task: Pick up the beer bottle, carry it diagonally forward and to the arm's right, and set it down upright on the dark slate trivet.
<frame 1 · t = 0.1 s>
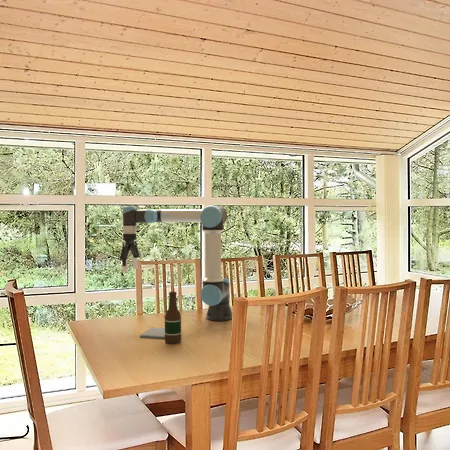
hand: (130, 270, 273), 28 cm above the table, fingers open, 13 cm apart
slate trivet: (161, 334, 240), on the table
beer bottle: (173, 343, 225), on the table
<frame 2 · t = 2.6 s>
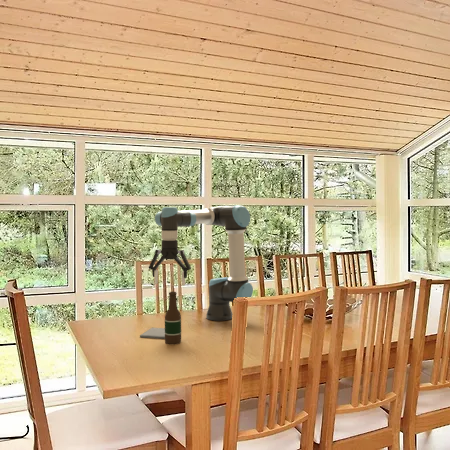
hand: (169, 284, 226), 27 cm above the table, fingers open, 13 cm apart
nothing on the table moved.
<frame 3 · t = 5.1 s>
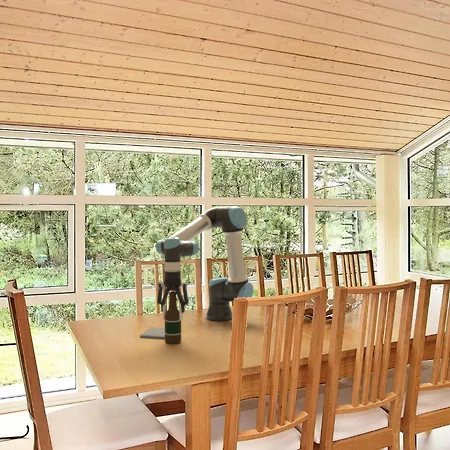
hand: (172, 319, 224), 11 cm above the table, fingers closed on beer bottle, 7 cm apart
beer bottle: (173, 343, 225), on the table, touching gripper
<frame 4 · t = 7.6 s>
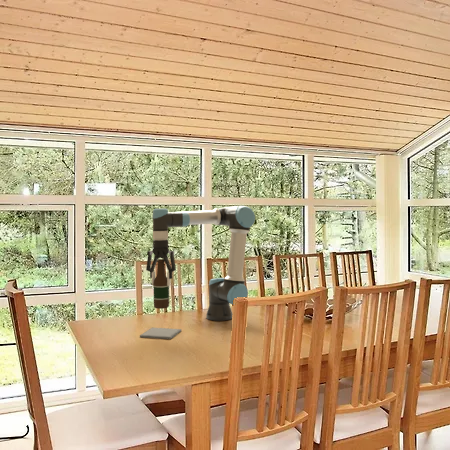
hand: (161, 285, 239), 25 cm above the table, fingers closed on beer bottle, 7 cm apart
beer bottle: (161, 307, 239), point 14 cm above the table, touching gripper
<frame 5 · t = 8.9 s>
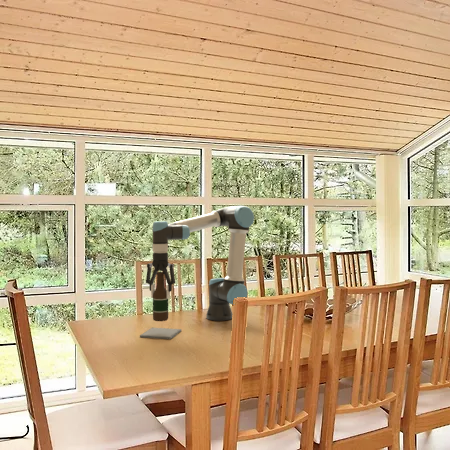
hand: (160, 297, 239), 18 cm above the table, fingers closed on beer bottle, 7 cm apart
beer bottle: (160, 320, 239), point 7 cm above the table, touching gripper
when the fingers open (14 cm above the table, at t = 10.2 s): beer bottle drops 1 cm, resting on slate trivet.
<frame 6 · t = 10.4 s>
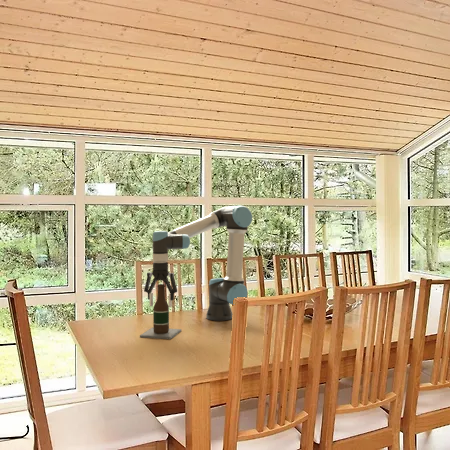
hand: (160, 306, 239), 14 cm above the table, fingers open, 9 cm apart
beer bottle: (161, 332, 240), point 1 cm above the table, touching slate trivet
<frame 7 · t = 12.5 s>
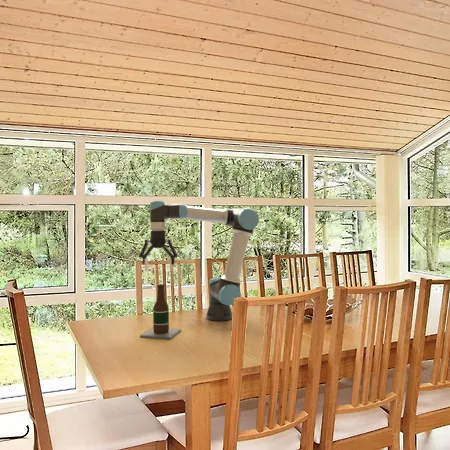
hand: (158, 270, 249), 31 cm above the table, fingers open, 13 cm apart
nothing on the table moved.
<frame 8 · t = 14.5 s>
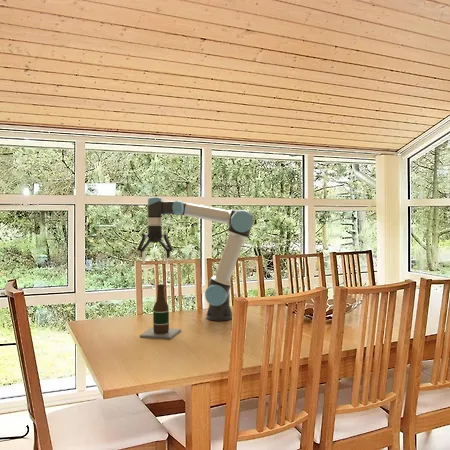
hand: (155, 263, 264), 33 cm above the table, fingers open, 13 cm apart
nothing on the table moved.
at the end: beer bottle inside the target area on the slate trivet (0.1 cm from its centre), point 0.9 cm above the slate trivet's base; beer bottle tilted 0°; the gripper is holding nothing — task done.
